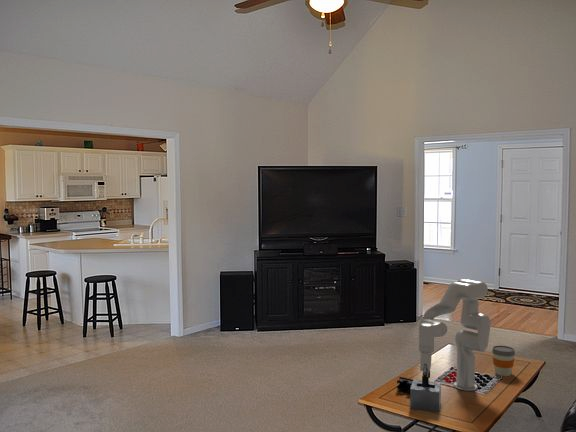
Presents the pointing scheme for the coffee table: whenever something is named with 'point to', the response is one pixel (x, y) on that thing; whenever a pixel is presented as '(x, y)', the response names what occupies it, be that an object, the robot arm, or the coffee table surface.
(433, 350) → the robot arm
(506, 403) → the coffee table surface
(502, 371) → the reusable coffee cup
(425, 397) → the box
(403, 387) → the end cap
